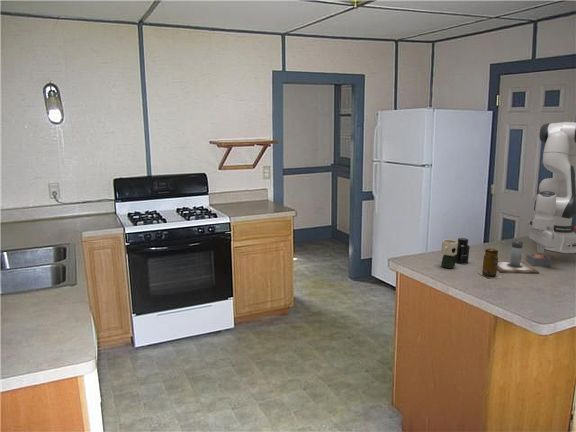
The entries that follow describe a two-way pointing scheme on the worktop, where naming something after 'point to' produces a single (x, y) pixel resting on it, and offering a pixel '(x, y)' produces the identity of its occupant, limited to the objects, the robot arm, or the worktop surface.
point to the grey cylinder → (516, 253)
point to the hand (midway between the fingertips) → (540, 252)
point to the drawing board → (515, 268)
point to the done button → (539, 256)
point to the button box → (539, 260)
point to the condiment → (490, 264)
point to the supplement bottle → (462, 251)
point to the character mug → (449, 253)
